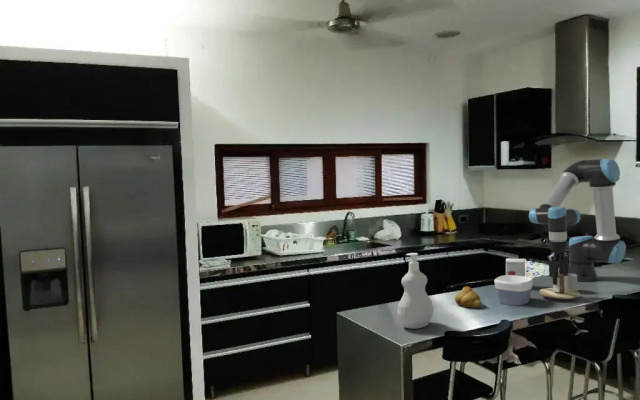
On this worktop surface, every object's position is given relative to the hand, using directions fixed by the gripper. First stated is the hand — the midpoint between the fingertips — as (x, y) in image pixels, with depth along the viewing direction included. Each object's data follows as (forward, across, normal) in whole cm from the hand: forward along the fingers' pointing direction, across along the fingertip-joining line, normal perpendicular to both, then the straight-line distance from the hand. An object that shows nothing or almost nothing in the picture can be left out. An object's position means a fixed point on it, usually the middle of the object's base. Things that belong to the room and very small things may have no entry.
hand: (559, 290), depth 226 cm
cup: (+5, -16, -4) cm, 17 cm away
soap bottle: (+3, +78, -13) cm, 79 cm away
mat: (+4, 0, 0) cm, 4 cm away
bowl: (+4, +20, -10) cm, 22 cm away
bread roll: (+4, +39, -19) cm, 44 cm away
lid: (+2, 0, 0) cm, 2 cm away
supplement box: (+5, -4, -26) cm, 27 cm away
